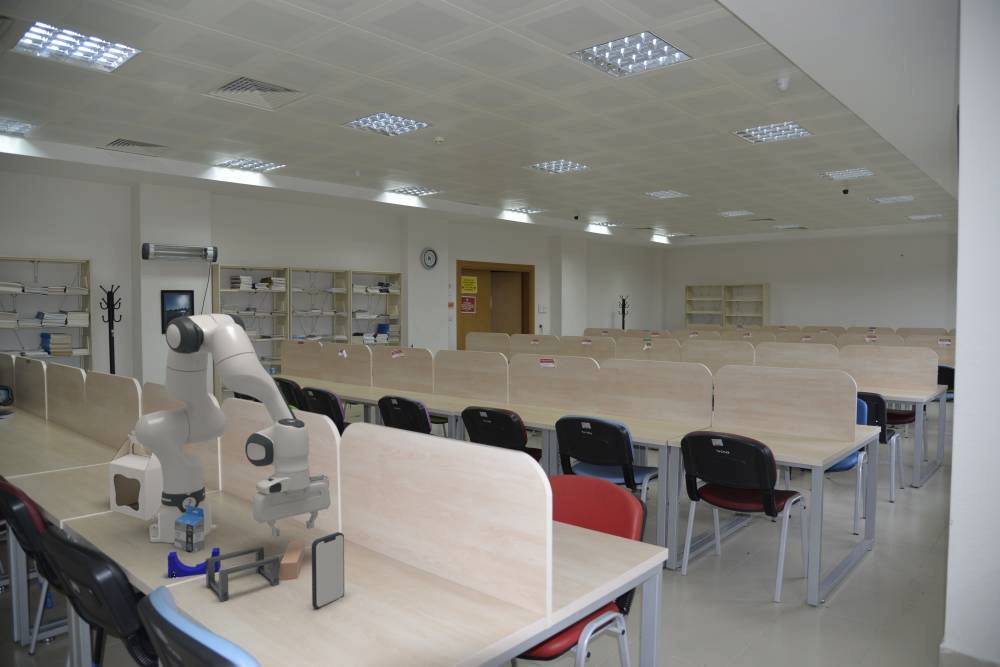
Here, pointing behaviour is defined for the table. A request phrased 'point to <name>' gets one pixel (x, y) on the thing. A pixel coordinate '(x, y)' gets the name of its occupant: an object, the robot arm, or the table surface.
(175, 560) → the blue curved cradle stand
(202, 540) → the label tape box
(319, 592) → the black smartphone
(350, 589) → the table surface
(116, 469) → the gable box
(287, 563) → the salmon orange rectangular block
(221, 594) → the grey metal frame stand
